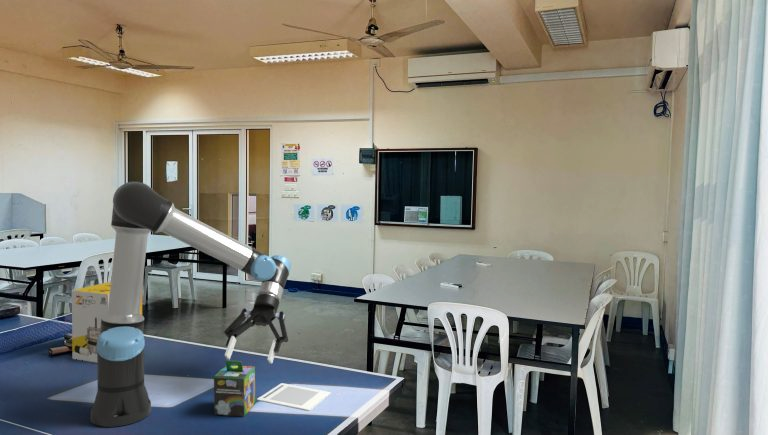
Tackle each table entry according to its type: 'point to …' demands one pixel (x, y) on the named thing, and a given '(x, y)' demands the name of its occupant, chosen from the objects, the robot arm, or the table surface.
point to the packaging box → (89, 319)
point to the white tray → (294, 396)
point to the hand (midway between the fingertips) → (248, 359)
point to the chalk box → (234, 389)
